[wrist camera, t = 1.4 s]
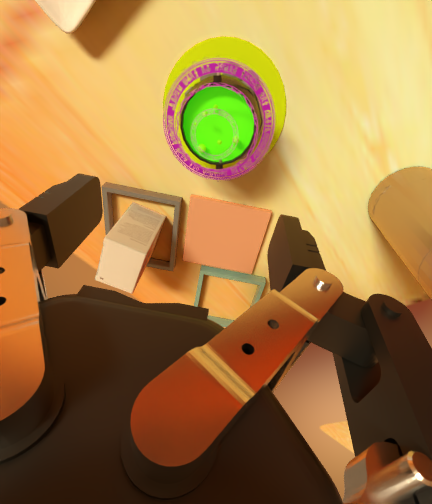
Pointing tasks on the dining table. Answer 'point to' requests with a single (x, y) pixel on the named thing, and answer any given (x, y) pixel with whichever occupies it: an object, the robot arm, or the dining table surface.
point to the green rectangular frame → (233, 276)
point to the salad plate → (66, 12)
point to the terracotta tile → (224, 233)
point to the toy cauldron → (223, 107)
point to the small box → (129, 247)
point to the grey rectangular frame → (147, 195)
